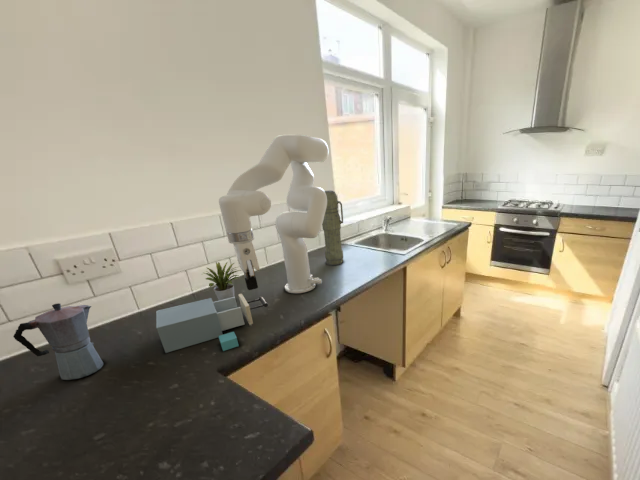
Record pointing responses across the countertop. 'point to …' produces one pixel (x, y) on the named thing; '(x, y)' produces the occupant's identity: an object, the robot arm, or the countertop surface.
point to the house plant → (222, 281)
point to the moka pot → (65, 340)
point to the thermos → (332, 230)
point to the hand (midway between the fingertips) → (252, 288)
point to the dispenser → (187, 324)
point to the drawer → (235, 311)
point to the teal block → (228, 341)
